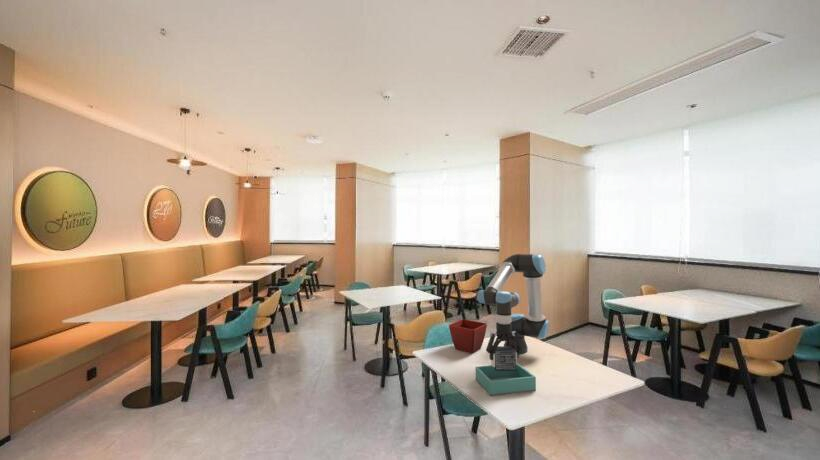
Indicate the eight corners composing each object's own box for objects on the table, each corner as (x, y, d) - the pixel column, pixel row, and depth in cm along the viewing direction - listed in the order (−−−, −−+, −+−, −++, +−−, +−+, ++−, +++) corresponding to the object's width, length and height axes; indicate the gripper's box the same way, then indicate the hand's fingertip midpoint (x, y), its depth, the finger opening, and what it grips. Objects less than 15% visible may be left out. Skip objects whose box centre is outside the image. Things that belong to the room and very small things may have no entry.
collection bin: (517, 375, 180) (516, 362, 180) (535, 391, 163) (535, 376, 163) (475, 380, 176) (475, 366, 176) (490, 396, 158) (490, 381, 158)
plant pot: (463, 342, 235) (462, 318, 235) (487, 348, 223) (487, 323, 223) (448, 350, 220) (448, 324, 220) (474, 356, 208) (473, 330, 208)
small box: (513, 366, 172) (513, 345, 172) (516, 371, 165) (516, 350, 165) (492, 365, 173) (492, 345, 173) (494, 370, 166) (494, 349, 166)
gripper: (521, 319, 175) (521, 360, 175) (479, 321, 171) (479, 364, 170) (528, 322, 168) (529, 365, 168) (485, 325, 163) (485, 370, 163)
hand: (504, 365), depth 169 cm, fingers closed on small box, 11 cm apart
